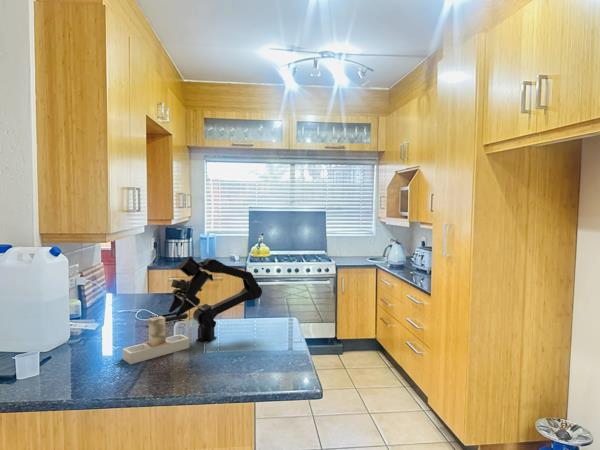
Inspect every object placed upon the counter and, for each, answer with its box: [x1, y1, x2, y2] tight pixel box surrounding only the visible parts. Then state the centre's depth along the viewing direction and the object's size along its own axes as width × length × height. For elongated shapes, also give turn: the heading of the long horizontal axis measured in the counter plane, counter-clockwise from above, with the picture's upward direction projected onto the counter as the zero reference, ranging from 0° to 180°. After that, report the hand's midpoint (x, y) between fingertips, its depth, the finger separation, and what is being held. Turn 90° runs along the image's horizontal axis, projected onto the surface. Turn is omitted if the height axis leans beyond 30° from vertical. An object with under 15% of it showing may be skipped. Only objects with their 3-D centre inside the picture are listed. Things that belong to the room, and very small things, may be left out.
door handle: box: [149, 310, 189, 324], centre depth 203 cm, size 3×20×16 cm
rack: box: [121, 333, 190, 365], centre depth 157 cm, size 24×7×4 cm, turn 136°
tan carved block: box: [148, 315, 167, 347], centre depth 157 cm, size 5×4×13 cm
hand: (172, 314), depth 163 cm, fingers open, 9 cm apart
